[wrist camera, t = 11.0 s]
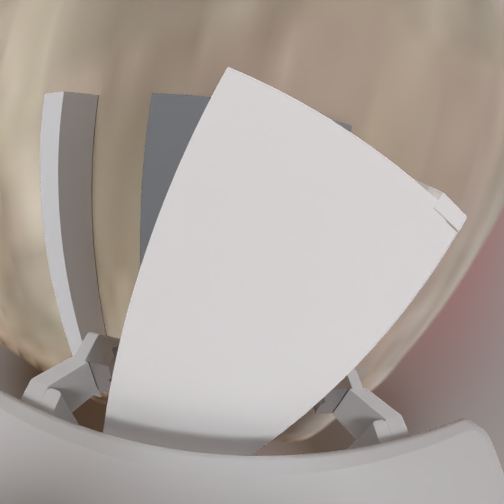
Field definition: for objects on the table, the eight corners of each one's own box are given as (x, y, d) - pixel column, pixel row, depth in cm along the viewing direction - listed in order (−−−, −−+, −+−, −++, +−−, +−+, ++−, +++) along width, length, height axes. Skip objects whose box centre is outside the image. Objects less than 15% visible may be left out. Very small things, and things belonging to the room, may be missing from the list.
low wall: (100, 362, 20) (87, 393, 17) (80, 96, 11) (44, 94, 8) (113, 365, 20) (101, 397, 17) (98, 95, 11) (63, 91, 8)
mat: (151, 373, 20) (149, 379, 20) (155, 94, 12) (152, 93, 11) (271, 387, 21) (272, 392, 21) (347, 125, 13) (351, 126, 12)
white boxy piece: (236, 103, 12) (234, 55, 3) (336, 156, 13) (467, 217, 5) (129, 369, 19) (99, 472, 11) (193, 392, 20) (184, 496, 12)
